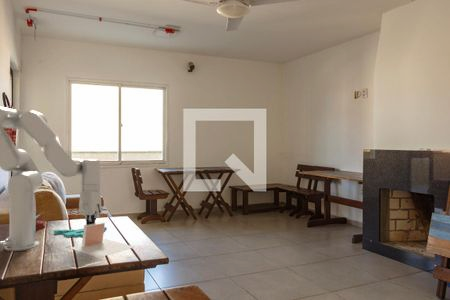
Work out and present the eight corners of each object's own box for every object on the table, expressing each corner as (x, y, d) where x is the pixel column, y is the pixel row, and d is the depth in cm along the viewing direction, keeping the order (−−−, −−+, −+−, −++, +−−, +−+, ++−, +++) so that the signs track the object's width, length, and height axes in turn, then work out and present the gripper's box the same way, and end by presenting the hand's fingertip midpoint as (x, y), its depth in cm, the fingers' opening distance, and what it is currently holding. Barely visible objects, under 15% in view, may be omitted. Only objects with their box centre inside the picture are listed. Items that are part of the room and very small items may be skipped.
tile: (84, 247, 146) (86, 226, 145) (81, 245, 147) (84, 225, 146) (102, 242, 153) (105, 222, 153) (100, 241, 154) (102, 221, 154)
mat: (98, 259, 133) (98, 257, 133) (68, 249, 145) (68, 247, 145) (135, 248, 148) (135, 246, 148) (105, 240, 159) (105, 238, 159)
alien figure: (54, 234, 169) (76, 242, 157) (54, 230, 169) (76, 237, 157) (91, 227, 185) (114, 234, 173) (91, 223, 185) (114, 229, 173)
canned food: (36, 239, 176) (30, 223, 172) (22, 234, 180) (15, 219, 175) (53, 224, 186) (48, 209, 181) (39, 220, 189) (33, 206, 184)
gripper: (72, 187, 152) (72, 229, 152) (93, 189, 144) (93, 234, 144) (88, 185, 158) (87, 225, 159) (109, 188, 150) (108, 230, 150)
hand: (90, 229), depth 151 cm, fingers closed
